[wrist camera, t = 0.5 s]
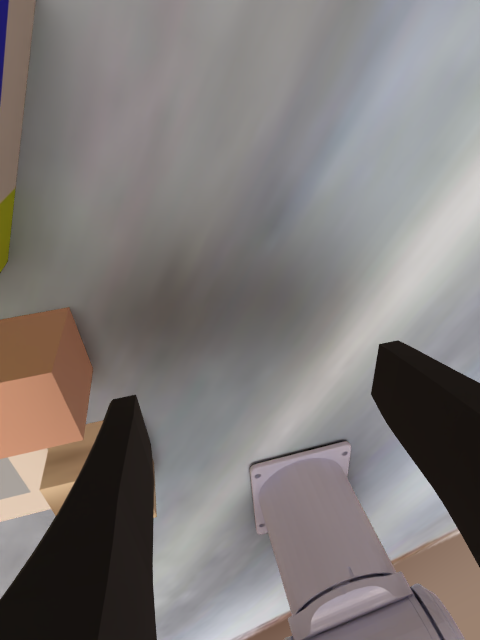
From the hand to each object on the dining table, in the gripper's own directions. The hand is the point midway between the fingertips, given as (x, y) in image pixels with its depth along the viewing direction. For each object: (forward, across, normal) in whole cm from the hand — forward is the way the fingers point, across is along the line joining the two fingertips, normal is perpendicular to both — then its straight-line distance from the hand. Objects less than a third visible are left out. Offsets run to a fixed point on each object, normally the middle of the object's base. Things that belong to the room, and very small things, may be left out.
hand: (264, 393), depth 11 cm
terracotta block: (+10, +9, +3) cm, 14 cm away
